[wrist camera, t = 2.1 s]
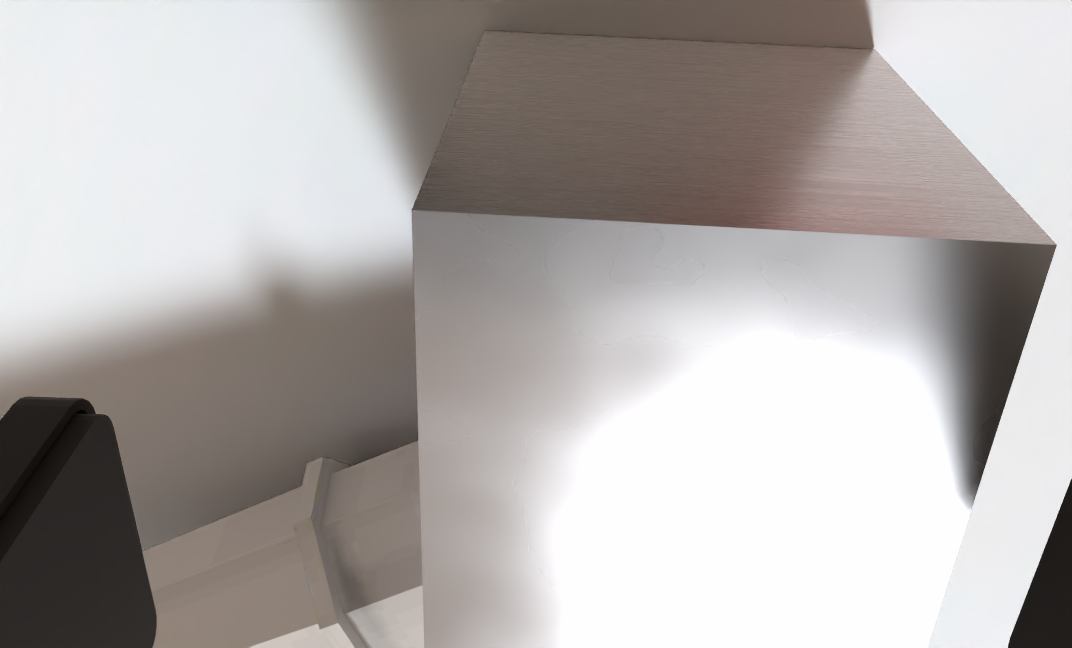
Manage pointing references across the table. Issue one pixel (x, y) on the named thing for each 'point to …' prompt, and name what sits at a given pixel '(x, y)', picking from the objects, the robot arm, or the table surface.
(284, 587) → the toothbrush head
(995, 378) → the brushed grey cube
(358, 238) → the table surface
